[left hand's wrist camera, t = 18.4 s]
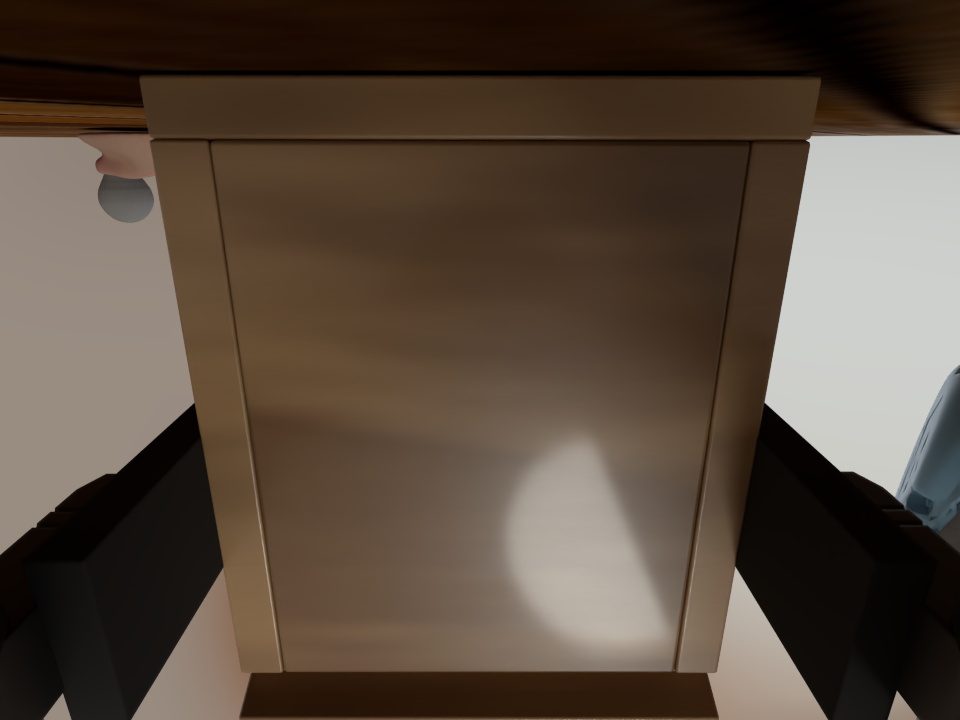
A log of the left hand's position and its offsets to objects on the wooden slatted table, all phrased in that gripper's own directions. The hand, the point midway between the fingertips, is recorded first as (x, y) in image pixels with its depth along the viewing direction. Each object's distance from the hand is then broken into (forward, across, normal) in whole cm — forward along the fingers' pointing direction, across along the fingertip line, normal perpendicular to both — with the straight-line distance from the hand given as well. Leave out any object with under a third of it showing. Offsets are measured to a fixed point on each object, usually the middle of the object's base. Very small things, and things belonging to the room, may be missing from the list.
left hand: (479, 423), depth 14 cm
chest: (+5, 0, -7) cm, 8 cm away
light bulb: (+64, +44, -7) cm, 78 cm away
